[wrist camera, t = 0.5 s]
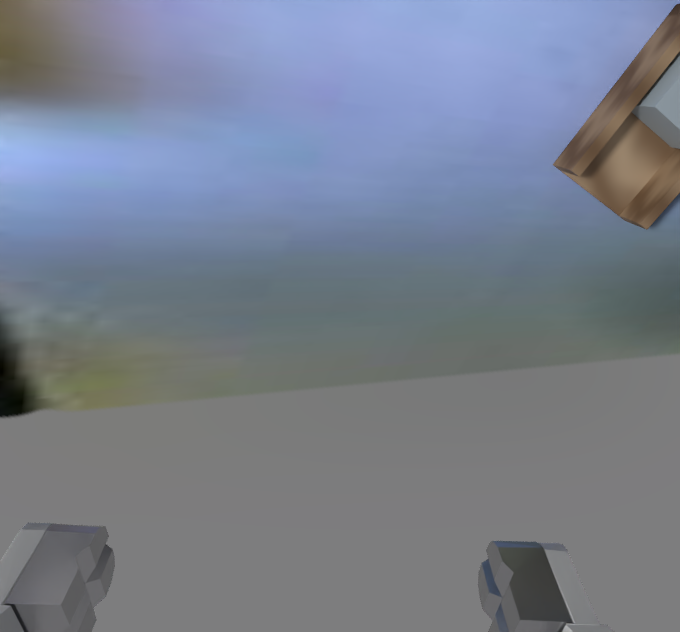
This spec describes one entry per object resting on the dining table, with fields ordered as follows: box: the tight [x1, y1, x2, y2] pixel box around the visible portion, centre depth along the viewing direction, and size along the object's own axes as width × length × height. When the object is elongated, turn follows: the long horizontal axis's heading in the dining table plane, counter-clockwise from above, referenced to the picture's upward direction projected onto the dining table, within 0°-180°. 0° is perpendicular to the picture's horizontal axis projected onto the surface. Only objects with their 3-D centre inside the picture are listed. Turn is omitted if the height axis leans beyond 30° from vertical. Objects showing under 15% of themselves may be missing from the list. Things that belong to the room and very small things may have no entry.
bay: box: [553, 4, 680, 229], centre depth 51 cm, size 18×12×4 cm, turn 147°
